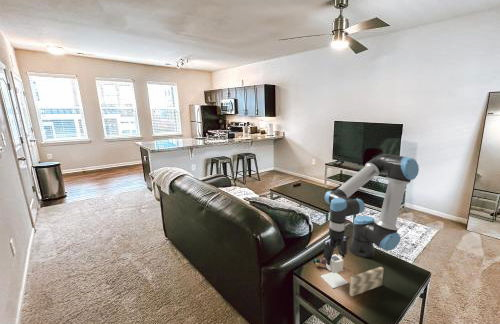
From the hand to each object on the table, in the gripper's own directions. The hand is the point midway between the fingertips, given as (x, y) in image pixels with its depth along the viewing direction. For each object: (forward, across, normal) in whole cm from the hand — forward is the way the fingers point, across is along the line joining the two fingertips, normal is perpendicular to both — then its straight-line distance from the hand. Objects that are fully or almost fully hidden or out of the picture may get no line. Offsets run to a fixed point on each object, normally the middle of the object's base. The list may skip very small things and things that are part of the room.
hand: (334, 267), depth 125 cm
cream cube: (0, 0, 0) cm, 0 cm away
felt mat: (+7, 0, 0) cm, 7 cm away
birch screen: (+7, -10, +12) cm, 17 cm away
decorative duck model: (+7, -5, -14) cm, 17 cm away
